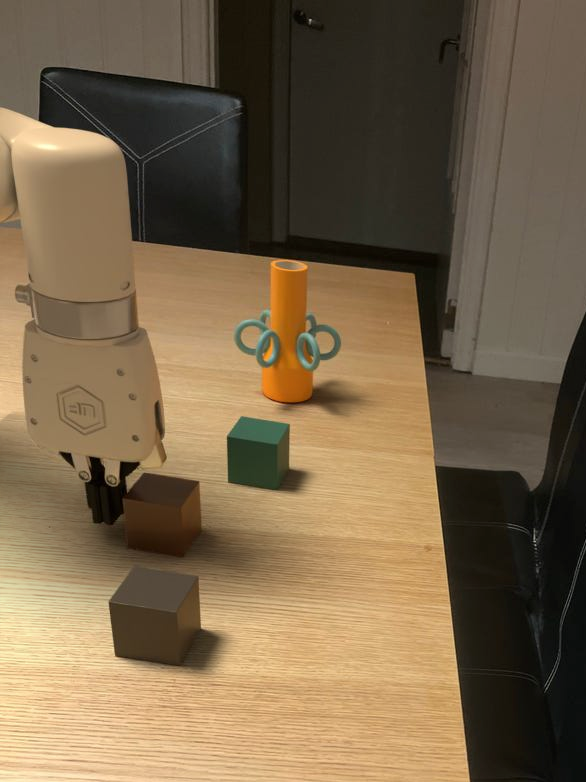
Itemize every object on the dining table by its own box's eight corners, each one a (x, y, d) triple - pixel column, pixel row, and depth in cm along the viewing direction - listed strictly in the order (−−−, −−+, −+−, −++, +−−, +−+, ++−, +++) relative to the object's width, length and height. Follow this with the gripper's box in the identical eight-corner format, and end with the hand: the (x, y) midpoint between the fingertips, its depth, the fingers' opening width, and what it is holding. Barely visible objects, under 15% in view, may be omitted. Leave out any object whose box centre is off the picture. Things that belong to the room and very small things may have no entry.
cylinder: (336, 379, 119) (341, 256, 110) (340, 414, 111) (347, 284, 102) (236, 373, 116) (234, 246, 107) (233, 408, 108) (230, 274, 99)
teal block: (277, 490, 94) (277, 444, 91) (227, 482, 94) (226, 436, 91) (289, 468, 98) (289, 423, 95) (241, 460, 98) (241, 415, 95)
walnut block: (183, 557, 82) (180, 507, 80) (127, 548, 82) (122, 498, 79) (201, 529, 87) (199, 480, 84) (148, 520, 86) (143, 471, 83)
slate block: (180, 666, 71) (176, 612, 68) (114, 655, 71) (108, 601, 68) (201, 627, 75) (198, 575, 72) (139, 618, 75) (133, 565, 72)
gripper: (-35, 309, 70) (5, 524, 80) (165, 342, 70) (178, 552, 81) (13, 281, 76) (45, 484, 86) (197, 312, 76) (206, 510, 87)
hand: (109, 516), depth 83 cm, fingers closed
